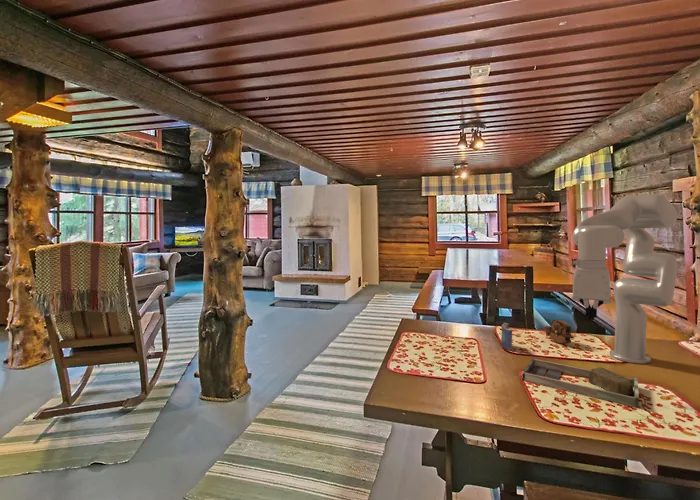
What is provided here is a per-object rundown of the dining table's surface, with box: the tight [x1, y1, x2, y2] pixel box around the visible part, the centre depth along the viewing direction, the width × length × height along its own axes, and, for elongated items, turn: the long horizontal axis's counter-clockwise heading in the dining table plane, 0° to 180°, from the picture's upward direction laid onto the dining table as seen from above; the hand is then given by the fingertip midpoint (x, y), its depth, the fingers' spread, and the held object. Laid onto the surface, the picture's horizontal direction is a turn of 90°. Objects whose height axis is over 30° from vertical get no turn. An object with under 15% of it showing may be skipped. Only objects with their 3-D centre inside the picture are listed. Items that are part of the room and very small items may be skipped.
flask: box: [500, 322, 513, 351], centre depth 151 cm, size 9×3×11 cm, turn 172°
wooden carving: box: [544, 319, 575, 345], centre depth 156 cm, size 16×5×10 cm, turn 10°
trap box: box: [521, 358, 640, 408], centre depth 115 cm, size 16×31×3 cm, turn 51°
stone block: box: [588, 367, 634, 396], centre depth 111 cm, size 6×12×5 cm, turn 13°
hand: (591, 318), depth 115 cm, fingers closed
